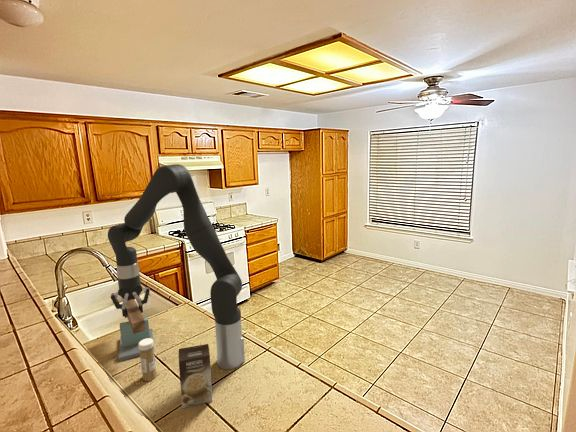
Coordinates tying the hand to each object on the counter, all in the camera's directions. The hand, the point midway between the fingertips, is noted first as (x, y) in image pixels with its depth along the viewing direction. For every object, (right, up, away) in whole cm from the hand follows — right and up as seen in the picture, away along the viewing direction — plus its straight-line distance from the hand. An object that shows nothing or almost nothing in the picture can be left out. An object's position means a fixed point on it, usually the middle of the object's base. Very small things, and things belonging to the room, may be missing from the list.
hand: (133, 315), depth 118 cm
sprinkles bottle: (+14, -16, -15) cm, 26 cm away
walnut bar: (0, -1, 0) cm, 1 cm away
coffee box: (+33, -18, -24) cm, 45 cm away
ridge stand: (0, -13, +2) cm, 13 cm away
